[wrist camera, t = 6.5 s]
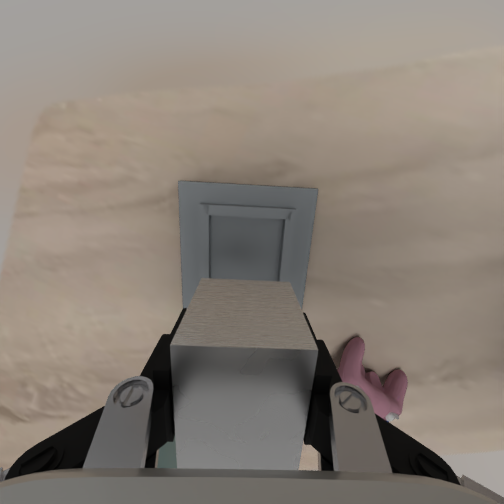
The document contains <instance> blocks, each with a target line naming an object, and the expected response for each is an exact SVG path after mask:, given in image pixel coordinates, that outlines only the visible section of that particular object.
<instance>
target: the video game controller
mask: <svg viewBox="0 0 504 504" xmlns="http://www.w3.org/2000/svg"><path fill="white" fill-rule="evenodd" d="M364 351H365V344H364V341H363V340H362V338H360V337H355V338H353V339H352V340H350V341H349V343H348V344H347V345H346V347H345V349H344V351H343V354H342V357H341V361H340V366H339V368H338V369H337V371H338V373H339V375H340V377H341V379H342V381H343V382H345V383H350V384H353V385H355V386H357V387H358V388H360V389H361V390H362V391H364V392H365V393H366V395H367V396H368V397H369V399H370V401H371V403H372V406H373V409H374V413H375V414H377V415H378V416H380V417H381V418H383V419H384V420H386V421H387V422H389V421H393V420H394V419H395V418H396V419H399V415H400V414H401V413H402V407H403V400H404V396H405V393H406V389H407V384H408V382H407V376H406V375H405V373H404V372H403V371H402V370H397V369H396V370H394V371H393V372H391V373H390V375H389V376H388V378H387V379H386V381H385V383H384V385H383V387H382V385H381V382H380V379H379V377H378V375H377V374H376V373H375V372H373V371H371V372H367V373H365V369H364V367H363V365H362V359H363V355H364Z"/></svg>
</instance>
